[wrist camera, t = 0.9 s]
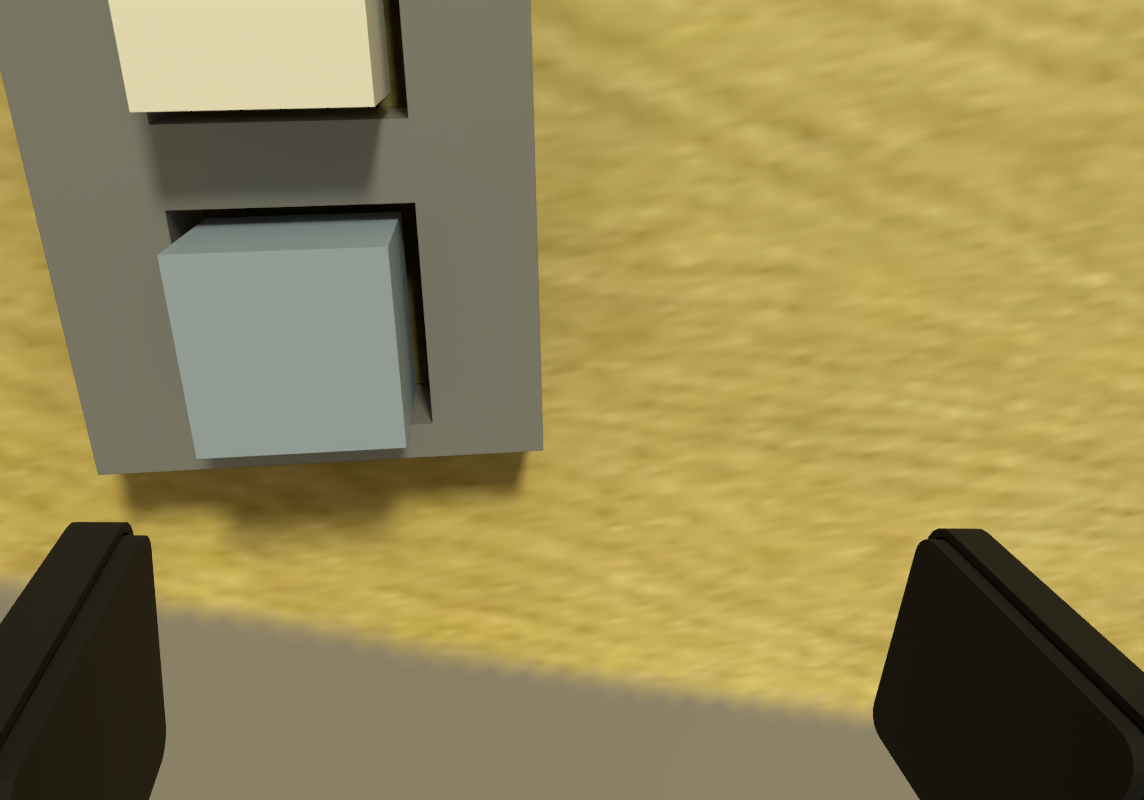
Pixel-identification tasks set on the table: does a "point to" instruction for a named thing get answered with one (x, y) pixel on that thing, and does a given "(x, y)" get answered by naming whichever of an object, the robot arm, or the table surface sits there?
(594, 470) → the table surface
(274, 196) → the keypad base
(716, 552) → the table surface
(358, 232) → the slate-blue key
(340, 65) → the off-white key
